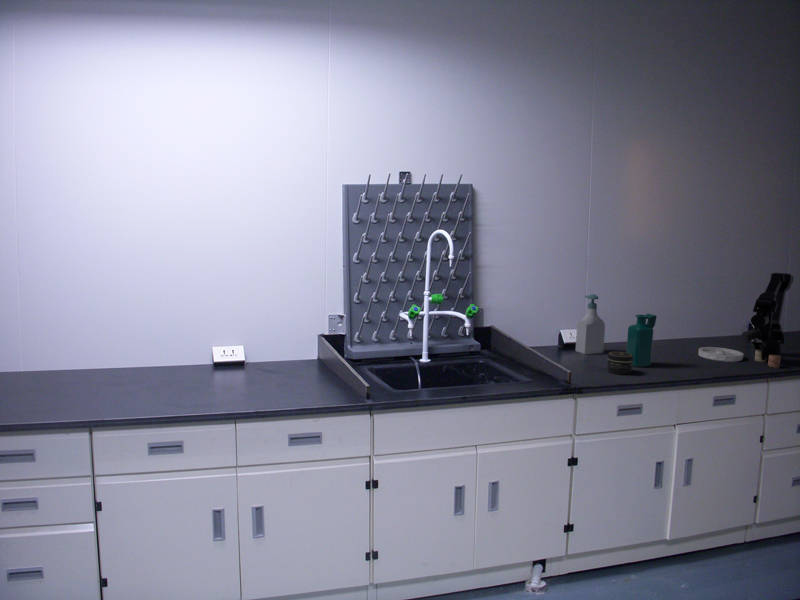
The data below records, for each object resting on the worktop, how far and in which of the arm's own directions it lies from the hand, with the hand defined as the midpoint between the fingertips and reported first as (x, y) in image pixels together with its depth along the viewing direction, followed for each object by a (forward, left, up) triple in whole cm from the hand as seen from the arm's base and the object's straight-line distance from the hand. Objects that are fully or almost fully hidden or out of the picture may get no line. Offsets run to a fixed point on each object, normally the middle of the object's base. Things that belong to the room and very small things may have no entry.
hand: (760, 358), depth 284 cm
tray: (+15, -6, -1) cm, 16 cm away
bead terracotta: (0, +11, -1) cm, 11 cm away
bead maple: (0, 0, -1) cm, 1 cm away
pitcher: (+59, +14, -1) cm, 61 cm away
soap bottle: (+75, -9, -1) cm, 76 cm away
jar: (+72, +28, -1) cm, 77 cm away
